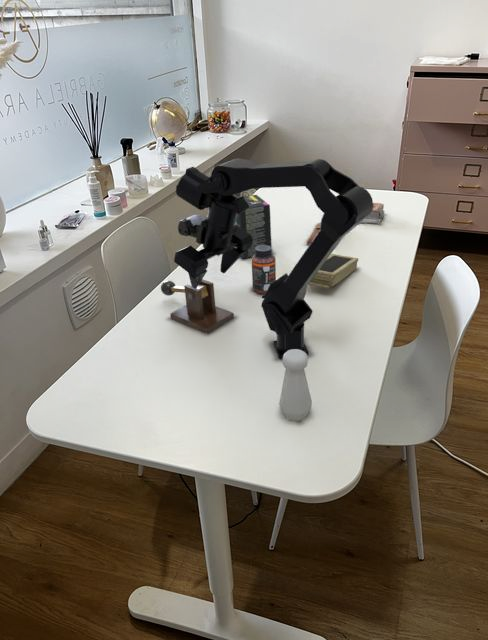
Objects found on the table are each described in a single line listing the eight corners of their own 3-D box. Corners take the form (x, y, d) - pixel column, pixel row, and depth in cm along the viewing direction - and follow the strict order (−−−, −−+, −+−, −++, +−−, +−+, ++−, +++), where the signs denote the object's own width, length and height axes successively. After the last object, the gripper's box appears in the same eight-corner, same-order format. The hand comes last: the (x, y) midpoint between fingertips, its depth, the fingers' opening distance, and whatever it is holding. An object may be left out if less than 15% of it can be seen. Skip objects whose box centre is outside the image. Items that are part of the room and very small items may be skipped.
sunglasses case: (316, 222, 180) (327, 205, 177) (334, 234, 181) (346, 218, 177) (305, 244, 166) (317, 226, 162) (325, 257, 167) (337, 239, 163)
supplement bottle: (273, 295, 140) (272, 253, 134) (250, 294, 141) (248, 252, 135) (278, 284, 145) (277, 243, 139) (255, 283, 146) (253, 242, 140)
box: (302, 288, 140) (304, 269, 138) (331, 267, 159) (333, 250, 156) (334, 294, 137) (336, 275, 135) (360, 272, 156) (362, 254, 153)
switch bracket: (170, 318, 132) (166, 284, 127) (197, 303, 138) (194, 271, 133) (207, 334, 126) (203, 299, 121) (234, 318, 131) (231, 284, 127)
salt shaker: (310, 403, 104) (311, 343, 97) (313, 423, 99) (314, 362, 92) (278, 404, 104) (277, 345, 97) (280, 424, 99) (279, 363, 92)
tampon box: (272, 254, 162) (271, 204, 154) (242, 259, 159) (239, 209, 151) (258, 241, 171) (256, 193, 163) (229, 246, 168) (226, 198, 160)
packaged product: (386, 200, 184) (381, 210, 176) (384, 214, 186) (379, 225, 179) (332, 196, 189) (325, 205, 181) (331, 210, 192) (324, 220, 184)
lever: (160, 297, 136) (156, 283, 134) (171, 291, 138) (167, 277, 137) (200, 302, 127) (196, 287, 125) (211, 296, 129) (207, 281, 128)
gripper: (223, 188, 122) (211, 246, 133) (159, 213, 110) (152, 275, 121) (261, 214, 118) (245, 272, 129) (199, 243, 106) (188, 303, 117)
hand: (208, 279), depth 124 cm, fingers open, 9 cm apart
